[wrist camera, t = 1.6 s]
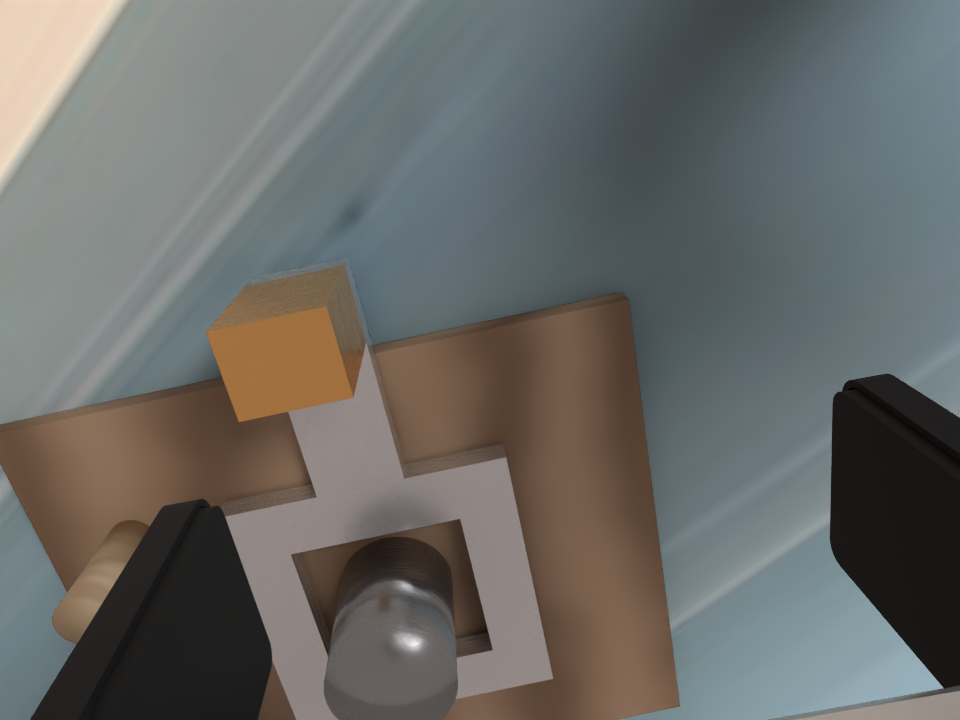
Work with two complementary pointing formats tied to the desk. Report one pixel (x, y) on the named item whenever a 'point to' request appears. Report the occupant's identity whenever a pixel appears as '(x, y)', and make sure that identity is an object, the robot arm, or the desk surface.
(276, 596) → the square frame with handle
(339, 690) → the post
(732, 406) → the desk surface
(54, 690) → the robot arm
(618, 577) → the base board
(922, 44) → the desk surface
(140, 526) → the dowel
